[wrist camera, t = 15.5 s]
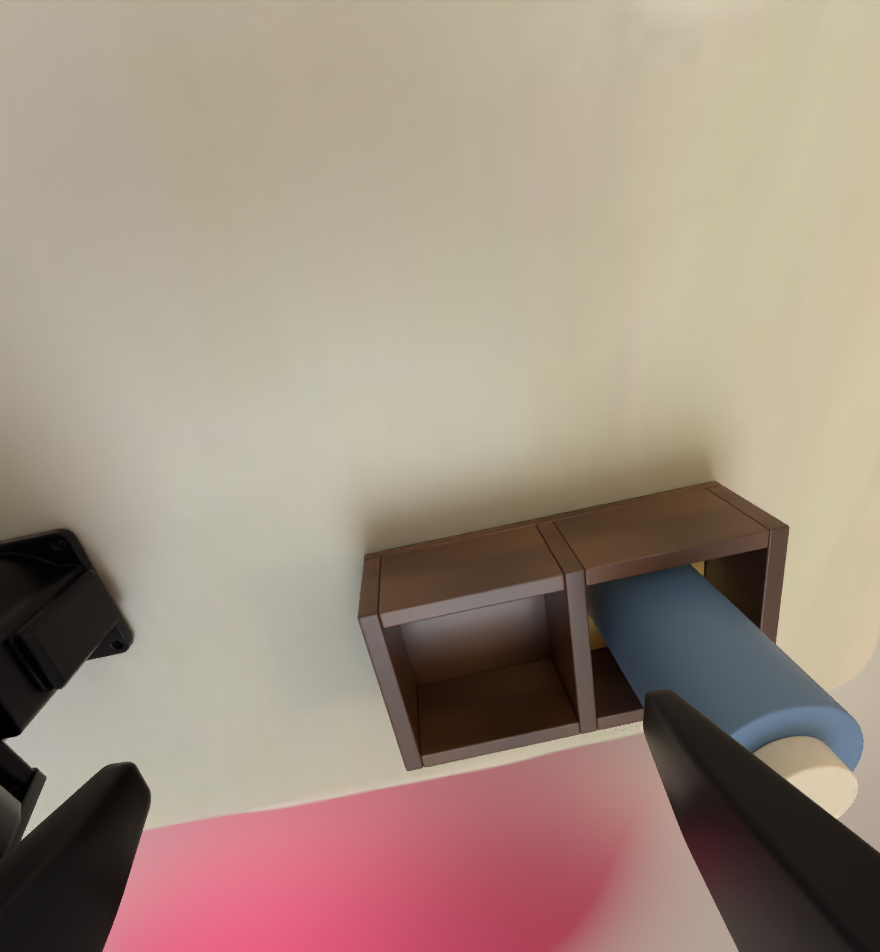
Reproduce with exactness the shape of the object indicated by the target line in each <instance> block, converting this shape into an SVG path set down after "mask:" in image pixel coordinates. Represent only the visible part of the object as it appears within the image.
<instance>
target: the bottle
mask: <svg viewBox="0 0 880 952" xmlns="http://www.w3.org/2000/svg"><path fill="white" fill-rule="evenodd" d="M586 595H587V608H588V614H589V616H590V617H591V619H592V621H593V622H594V624H595V626H596V628H597V629H598V631H599V633H600V634H601V636H602V638H603V639H604V641H605V643H606V645H607V646H608V648H609V650H610V651H611V653H612V655H613V656H614V658H615V660H616V662H617V663H618V665H619V667H620V668H621V670H622V672H623V673H624V675H625V677H626V678H627V680H628V682H629V684H630V685H631V687H632V689H633V690H634V692H635V694H636V695H637V697H638V699H639V701H640V702H641V704H642V706H643V707H644V700H645V695H646V693H647V692H649V691H655V690H662V689H669V690H671V691H673V692H675V693H676V694H677V695H679V696H680V697H681V698H683V699H684V700H685V701H686V702H688V703H689V704H690V705H692V706H693V707H694V708H695V709H697V710H698V711H699V712H700V713H702V714H703V715H704V716H706V717H707V718H708V719H709V720H711V721H712V722H713V723H715V724H716V725H717V726H718V727H720V728H721V729H722V730H723V731H725V732H726V733H727V734H729V735H730V736H731V737H732V738H734V739H735V740H736V741H737V742H739V743H740V744H741V745H743V746H744V747H745V748H746V749H748V750H749V751H750V752H752V753H753V754H754V755H755V756H757V757H758V758H759V759H760V760H762V761H763V762H764V763H766V764H767V765H768V766H769V767H771V768H772V769H773V770H775V771H776V772H777V773H778V774H780V775H781V776H782V777H783V778H785V779H786V780H787V781H789V782H790V783H791V784H792V785H794V786H795V787H796V788H798V789H799V790H800V791H801V792H803V793H804V794H805V795H806V796H808V797H809V798H810V799H812V800H813V801H814V802H815V803H817V804H818V805H819V806H820V807H822V808H823V809H824V810H826V811H827V812H828V813H829V814H831V815H832V816H833V817H835V818H836V819H837V818H838V817H840V816H841V815H842V814H843V813H844V812H845V811H846V810H847V809H848V808H849V807H850V805H851V804H852V802H853V801H854V799H855V797H856V795H857V791H858V782H857V780H856V777H855V775H854V774H853V773H852V772H853V771H854V769H855V767H856V766H857V764H858V762H859V760H860V757H861V754H862V750H863V734H862V731H861V729H860V726H859V724H858V723H857V721H856V720H855V719H854V718H853V717H852V716H851V715H850V714H849V713H848V712H847V711H846V710H845V709H844V708H843V707H841V705H839V704H838V703H837V702H836V701H835V700H834V699H833V698H832V697H831V696H830V695H829V694H828V693H827V692H826V691H825V690H824V689H823V688H821V687H820V686H819V685H818V684H817V683H816V682H815V681H814V680H813V679H812V678H811V677H810V676H809V675H808V674H807V673H806V672H804V671H803V670H802V669H801V668H800V667H799V666H798V665H797V664H796V663H795V662H794V661H793V660H792V659H791V658H790V657H789V656H788V655H786V654H785V653H784V652H783V651H782V650H781V649H780V648H779V647H778V646H777V645H776V644H775V643H774V642H773V641H772V640H771V639H769V638H768V637H767V636H766V635H765V634H764V633H763V632H762V631H761V630H760V629H759V628H758V627H757V626H756V625H755V624H754V623H753V622H751V621H750V620H749V619H748V618H747V617H746V616H745V615H744V614H743V613H742V612H741V611H740V610H739V609H738V608H737V607H736V606H734V605H733V604H732V603H731V602H730V601H729V600H728V599H727V598H726V597H725V596H724V595H723V594H722V593H721V592H720V591H719V590H717V589H716V588H715V587H714V586H713V585H712V584H711V583H710V582H709V581H708V580H707V579H706V578H705V577H704V576H703V575H702V574H701V573H699V572H698V571H697V570H696V569H695V568H694V567H693V566H692V565H691V564H687V565H682V566H678V567H673V568H668V569H664V570H659V571H654V572H649V573H645V574H640V575H635V576H630V577H626V578H621V579H616V580H612V581H607V582H602V583H597V584H593V585H586Z"/></svg>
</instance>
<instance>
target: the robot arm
mask: <svg viewBox="0 0 880 952" xmlns="http://www.w3.org/2000/svg"><path fill="white" fill-rule="evenodd" d="M58 539H60V540H62V541H63V542H64V543H65V544H62V543H60V541H59V540H58ZM117 640H118V641H121V642H122V643H120V642H118V641H117ZM132 643H133V637H132V635H131V633H130V631H129V629H128V628H127V626H126V624H125V622H124V621H123V619H122V617H121V615H120V614H119V612H118V610H117V608H116V606H115V605H114V603H113V601H112V599H111V598H110V596H109V594H108V592H107V591H106V589H105V587H104V585H103V583H102V582H101V580H100V578H99V576H98V575H97V573H96V571H95V569H94V568H93V566H92V564H91V562H90V560H89V559H88V557H87V555H86V553H85V552H84V550H83V548H82V546H81V545H80V543H79V541H78V539H77V537H76V536H75V535H74V534H73V533H72V532H70V531H69V530H65V529H57V530H52V531H48V532H43V533H38V534H33V535H28V536H24V537H19V538H14V539H9V540H4V541H0V952H102V951H103V948H104V946H105V943H106V941H107V938H108V936H109V933H110V930H111V928H112V925H113V922H114V920H115V917H116V914H117V911H118V908H119V905H120V902H121V899H122V896H123V893H124V890H125V887H126V883H127V880H128V877H129V874H130V870H131V867H132V864H133V860H134V857H135V854H136V851H137V847H138V844H139V840H140V837H141V834H142V831H143V828H144V824H145V821H146V818H147V814H148V811H149V808H150V803H151V793H150V789H149V787H148V785H147V784H146V782H145V780H144V778H143V777H142V775H141V773H140V771H139V770H138V768H137V766H136V765H135V764H134V763H132V762H122V763H114V764H110V765H107V766H105V767H104V768H102V769H101V770H100V771H99V772H97V773H96V774H95V775H94V776H93V777H92V778H91V779H90V780H89V781H87V782H86V783H85V784H84V785H83V786H82V787H81V788H80V789H78V790H77V791H76V792H75V793H74V794H73V795H72V796H71V797H70V798H68V799H67V800H66V801H65V802H64V803H63V804H62V805H61V806H59V807H58V808H57V809H56V810H55V811H54V812H53V813H52V814H51V815H49V816H48V817H47V818H46V819H45V820H44V821H43V822H42V823H40V824H39V825H38V826H37V827H36V828H35V829H34V830H33V831H32V832H30V833H29V834H28V835H27V836H26V837H25V838H24V839H23V840H21V838H22V836H23V834H24V831H25V829H26V826H27V824H28V822H29V819H30V817H31V814H32V812H33V810H34V807H35V805H36V802H37V800H38V797H39V795H40V793H41V790H42V788H43V785H44V783H45V781H46V776H45V775H44V774H43V773H42V772H41V771H40V770H38V769H37V768H31V767H30V766H29V765H28V764H27V763H26V762H25V761H24V760H23V759H22V758H21V757H20V756H19V755H17V754H16V753H15V752H14V751H13V750H12V749H11V748H10V747H9V746H8V745H7V744H6V743H5V742H4V741H5V740H6V739H7V738H11V737H15V736H18V735H20V734H21V733H22V732H23V730H24V729H25V728H26V727H27V726H28V725H29V723H30V722H31V721H32V720H33V719H34V717H35V716H36V715H37V714H38V713H39V711H40V710H41V709H42V708H43V707H44V705H45V704H46V703H47V702H48V701H49V699H50V698H51V697H52V696H53V695H54V693H55V692H56V691H57V690H58V689H62V688H63V687H64V686H65V685H66V684H67V683H68V682H69V680H70V679H71V678H72V677H73V676H74V674H75V673H76V672H77V671H78V670H79V668H80V667H81V666H82V665H83V663H84V662H85V661H86V660H91V659H96V658H100V657H105V656H110V655H115V654H119V653H123V652H126V651H127V650H128V649H129V647H130V646H131V645H132ZM643 729H644V733H645V737H646V740H647V743H648V745H649V748H650V750H651V753H652V756H653V759H654V761H655V764H656V766H657V769H658V772H659V774H660V777H661V780H662V782H663V785H664V788H665V790H666V793H667V795H668V798H669V801H670V803H671V806H672V809H673V811H674V814H675V817H676V819H677V821H678V824H679V827H680V829H681V832H682V834H683V837H684V839H685V841H686V843H687V846H688V848H689V850H690V852H691V854H692V856H693V858H694V860H695V863H696V864H697V867H698V869H699V871H700V873H701V875H702V877H703V879H704V881H705V883H706V885H707V887H708V889H709V891H710V893H711V895H712V897H713V899H714V902H715V903H716V905H717V908H718V910H719V911H720V914H721V915H722V918H723V920H724V922H725V924H726V926H727V928H728V930H729V932H730V934H731V936H732V938H733V940H734V942H735V944H736V947H737V949H738V951H739V952H880V853H879V852H878V851H877V850H875V849H874V848H873V847H871V846H870V845H869V844H868V843H866V842H865V841H864V840H863V839H861V838H860V837H859V836H858V835H856V834H855V833H854V832H852V831H851V830H850V829H848V828H847V827H846V826H845V825H843V824H842V823H841V822H839V821H838V820H837V819H836V818H835V817H833V816H832V815H831V814H829V813H828V812H827V811H826V810H824V809H823V808H822V807H820V806H819V805H818V804H817V803H815V802H814V801H813V800H812V799H810V798H809V797H808V796H806V795H805V794H804V793H803V792H801V791H800V790H799V789H798V788H796V787H795V786H794V785H792V784H791V783H790V782H789V781H787V780H786V779H785V778H783V777H782V776H781V775H780V774H778V773H777V772H776V771H775V770H773V769H772V768H771V767H769V766H768V765H767V764H766V763H764V762H763V761H762V760H760V759H759V758H758V757H757V756H755V755H754V754H753V753H752V752H750V751H749V750H748V749H746V748H745V747H744V746H743V745H741V744H740V743H739V742H737V741H736V740H735V739H734V738H732V737H731V736H730V735H729V734H727V733H726V732H725V731H723V730H722V729H721V728H720V727H718V726H717V725H716V724H715V723H713V722H712V721H711V720H709V719H708V718H707V717H706V716H704V715H703V714H702V713H700V712H699V711H698V710H697V709H695V708H694V707H693V706H692V705H690V704H689V703H688V702H686V701H685V700H684V699H683V698H681V697H680V696H679V695H677V694H676V693H675V692H673V691H671V690H669V689H662V690H655V691H649V692H647V693H646V695H645V700H644V717H643Z"/></svg>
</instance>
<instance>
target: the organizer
mask: <svg viewBox="0 0 880 952" xmlns="http://www.w3.org/2000/svg"><path fill="white" fill-rule="evenodd" d="M788 535H789V526H788V525H787V524H785V523H783V522H782V521H780V520H778V519H777V518H775V517H773V516H772V515H770V514H769V513H767V512H765V511H764V510H762V509H760V508H759V507H757V506H755V505H754V504H752V503H751V502H749V501H747V500H746V499H744V498H742V497H741V496H739V495H737V494H736V493H734V492H732V491H731V490H729V489H728V488H726V487H724V486H722V485H721V484H720V483H718V482H716V481H714V482H709V483H704V484H700V485H695V486H690V487H685V488H680V489H676V490H671V491H666V492H661V493H657V494H652V495H647V496H642V497H638V498H633V499H628V500H623V501H619V502H614V503H609V504H604V505H600V506H595V507H590V508H585V509H581V510H576V511H571V512H566V513H562V514H557V515H552V516H547V517H543V518H538V519H533V520H528V521H523V522H519V523H514V524H509V525H504V526H500V527H495V528H490V529H485V530H481V531H476V532H471V533H466V534H462V535H457V536H452V537H447V538H443V539H438V540H433V541H428V542H424V543H419V544H414V545H409V546H405V547H400V548H395V549H390V550H385V551H381V552H376V553H371V554H366V555H365V556H364V566H363V575H362V584H361V592H360V601H359V610H358V621H359V624H360V627H361V630H362V633H363V636H364V640H365V643H366V646H367V649H368V652H369V655H370V658H371V661H372V665H373V668H374V671H375V674H376V677H377V680H378V683H379V686H380V690H381V693H382V696H383V699H384V702H385V705H386V708H387V711H388V715H389V718H390V721H391V724H392V727H393V730H394V733H395V736H396V740H397V743H398V746H399V749H400V752H401V755H402V758H403V761H404V765H405V768H406V770H407V771H411V770H416V769H420V768H423V766H424V767H430V766H435V765H439V764H444V763H449V762H453V761H458V760H463V759H467V758H472V757H477V756H481V755H486V754H490V753H495V752H500V751H504V750H509V749H514V748H518V747H523V746H528V745H532V744H537V743H542V742H546V741H551V740H555V739H560V738H565V737H569V736H574V735H579V734H580V733H581V734H583V733H588V732H593V731H596V730H597V729H598V730H602V729H606V728H611V727H616V726H620V725H625V724H630V723H634V722H639V721H643V717H644V707H643V706H642V704H641V702H640V701H639V699H638V697H637V695H636V694H635V692H634V690H633V689H632V687H631V685H630V684H629V682H628V680H627V678H626V677H625V675H624V673H623V672H622V670H621V668H620V667H619V665H618V663H617V662H616V660H615V658H614V656H613V655H612V653H611V651H610V650H609V648H608V646H607V645H606V643H605V641H604V639H603V638H602V636H601V634H600V633H599V631H598V629H597V628H596V626H595V624H594V622H593V621H592V619H591V617H590V616H589V614H588V608H587V595H586V585H593V584H597V583H602V582H607V581H612V580H616V579H621V578H626V577H630V576H635V575H640V574H645V573H649V572H654V571H659V570H664V569H668V568H673V567H678V566H682V565H687V564H691V565H692V566H693V567H694V568H695V569H696V570H697V571H698V572H699V573H701V574H702V575H703V576H704V577H705V578H706V579H707V580H708V581H709V582H710V583H711V584H712V585H713V586H714V587H715V588H716V589H717V590H719V591H720V592H721V593H722V594H723V595H724V596H725V597H726V598H727V599H728V600H729V601H730V602H731V603H732V604H733V605H734V606H736V607H737V608H738V609H739V610H740V611H741V612H742V613H743V614H744V615H745V616H746V617H747V618H748V619H749V620H750V621H751V622H753V623H754V624H755V625H756V626H757V627H758V628H759V629H760V630H761V631H762V632H763V633H764V634H765V635H766V636H767V637H768V638H769V639H771V640H772V641H773V642H774V643H775V644H776V636H777V628H778V620H779V611H780V603H781V594H782V586H783V577H784V569H785V560H786V552H787V543H788Z"/></svg>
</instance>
